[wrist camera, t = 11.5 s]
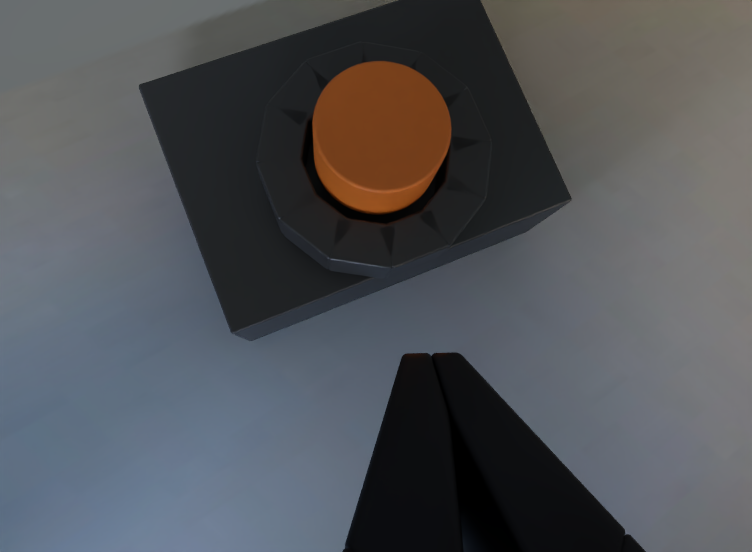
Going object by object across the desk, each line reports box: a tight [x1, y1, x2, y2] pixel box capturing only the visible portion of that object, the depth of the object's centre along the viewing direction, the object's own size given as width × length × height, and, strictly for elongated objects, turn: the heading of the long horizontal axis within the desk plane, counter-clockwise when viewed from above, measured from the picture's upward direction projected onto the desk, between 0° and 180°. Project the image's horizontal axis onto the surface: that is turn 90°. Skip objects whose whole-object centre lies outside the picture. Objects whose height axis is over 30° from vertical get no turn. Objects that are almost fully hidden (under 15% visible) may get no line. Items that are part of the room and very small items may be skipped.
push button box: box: [139, 0, 571, 341], centre depth 19 cm, size 11×8×6 cm
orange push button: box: [312, 61, 451, 215], centre depth 15 cm, size 3×3×2 cm
